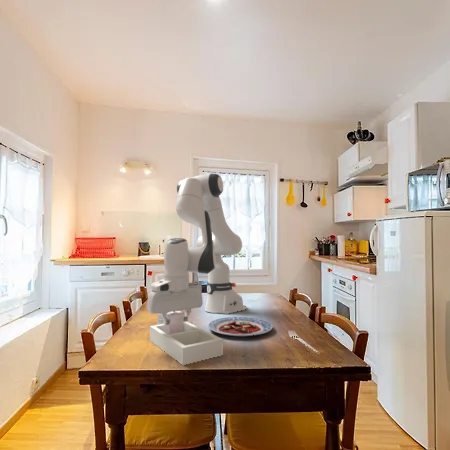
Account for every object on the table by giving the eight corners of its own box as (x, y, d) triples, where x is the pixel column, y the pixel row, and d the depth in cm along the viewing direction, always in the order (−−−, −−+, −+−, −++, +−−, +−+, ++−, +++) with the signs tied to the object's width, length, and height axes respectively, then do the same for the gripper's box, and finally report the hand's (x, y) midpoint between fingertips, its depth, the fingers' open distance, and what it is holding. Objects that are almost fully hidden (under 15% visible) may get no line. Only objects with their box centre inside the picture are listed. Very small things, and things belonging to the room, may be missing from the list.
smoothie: (166, 337, 114) (167, 299, 113) (184, 337, 114) (185, 299, 114) (165, 344, 107) (166, 303, 107) (183, 344, 108) (185, 303, 108)
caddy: (149, 340, 112) (149, 326, 112) (184, 333, 120) (184, 320, 120) (182, 365, 90) (182, 348, 90) (222, 355, 98) (222, 339, 98)
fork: (314, 356, 100) (314, 350, 100) (286, 335, 119) (287, 330, 119) (323, 355, 101) (323, 349, 101) (294, 335, 120) (294, 330, 120)
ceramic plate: (254, 345, 108) (254, 337, 108) (195, 333, 121) (195, 325, 121) (282, 327, 130) (282, 320, 130) (229, 318, 143) (229, 312, 143)
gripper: (197, 280, 120) (197, 316, 119) (145, 284, 108) (145, 325, 108) (205, 282, 114) (205, 320, 114) (152, 287, 103) (151, 329, 102)
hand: (175, 322), depth 111 cm, fingers closed on smoothie, 6 cm apart
